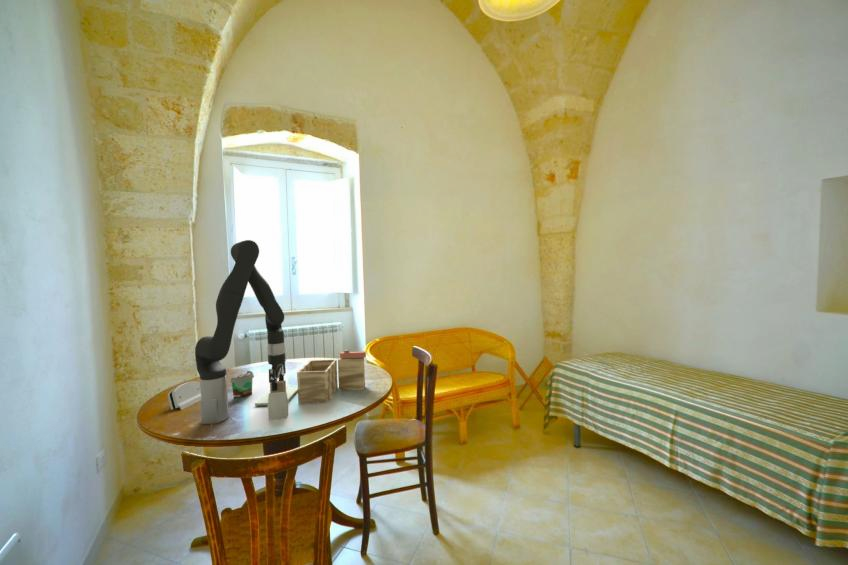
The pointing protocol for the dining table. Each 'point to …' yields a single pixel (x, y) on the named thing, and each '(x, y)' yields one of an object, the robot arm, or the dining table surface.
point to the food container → (242, 385)
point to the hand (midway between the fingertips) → (278, 387)
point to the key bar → (352, 354)
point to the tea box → (278, 405)
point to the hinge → (185, 395)
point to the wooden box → (329, 378)
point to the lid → (280, 388)
